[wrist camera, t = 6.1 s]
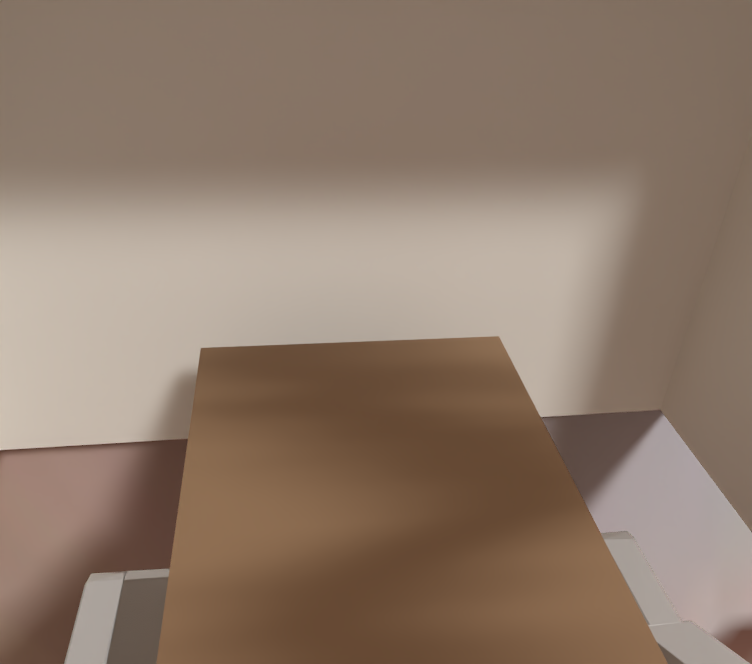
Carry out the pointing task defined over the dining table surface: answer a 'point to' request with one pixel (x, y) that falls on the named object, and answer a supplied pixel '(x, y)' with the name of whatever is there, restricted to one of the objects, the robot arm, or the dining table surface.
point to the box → (377, 202)
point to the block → (385, 516)
